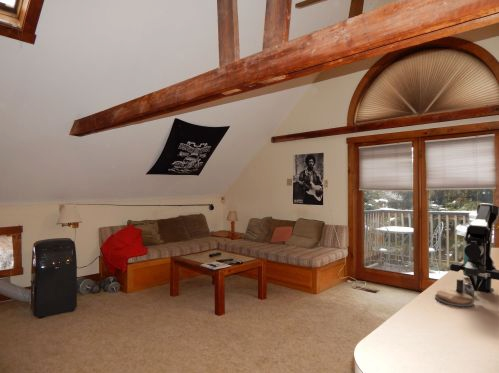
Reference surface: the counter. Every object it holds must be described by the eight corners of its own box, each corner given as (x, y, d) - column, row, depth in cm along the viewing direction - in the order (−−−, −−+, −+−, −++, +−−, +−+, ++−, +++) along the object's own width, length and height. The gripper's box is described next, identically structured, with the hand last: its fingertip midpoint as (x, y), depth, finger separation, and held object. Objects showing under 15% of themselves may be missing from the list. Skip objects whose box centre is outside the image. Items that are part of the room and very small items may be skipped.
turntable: (444, 289, 154) (444, 276, 153) (477, 297, 144) (478, 283, 144) (431, 297, 144) (432, 283, 144) (467, 306, 134) (467, 291, 134)
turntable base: (441, 292, 153) (441, 290, 153) (478, 301, 143) (478, 299, 143) (430, 300, 144) (430, 297, 144) (468, 310, 134) (468, 308, 134)
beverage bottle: (480, 280, 171) (481, 241, 170) (465, 279, 172) (467, 240, 171) (474, 276, 177) (475, 238, 176) (460, 275, 179) (461, 238, 178)
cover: (462, 291, 155) (463, 280, 154) (475, 294, 151) (476, 283, 151) (459, 294, 151) (459, 283, 151) (472, 297, 148) (472, 286, 147)
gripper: (446, 253, 144) (444, 289, 145) (499, 262, 131) (497, 302, 131) (454, 249, 152) (453, 283, 153) (506, 257, 138) (504, 295, 139)
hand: (475, 290), depth 144 cm, fingers closed
